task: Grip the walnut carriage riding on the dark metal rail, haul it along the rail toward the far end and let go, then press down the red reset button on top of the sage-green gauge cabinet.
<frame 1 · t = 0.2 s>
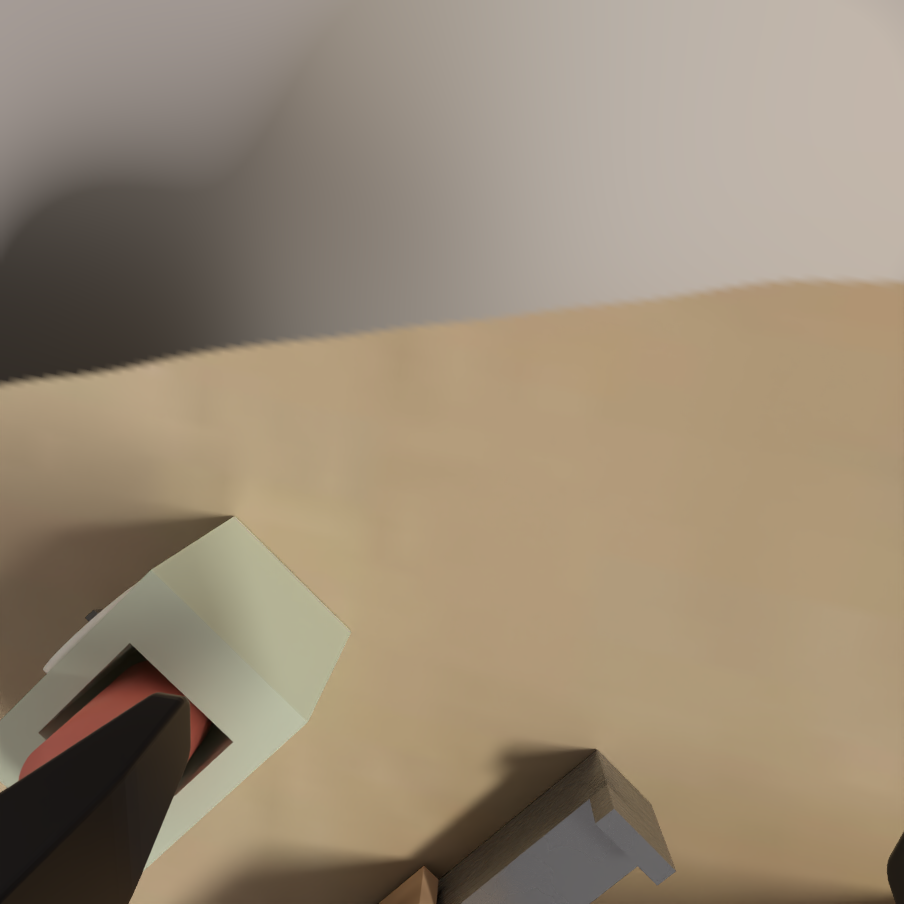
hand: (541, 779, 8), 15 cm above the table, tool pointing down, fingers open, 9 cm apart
rail: (478, 895, 25), on the table
gauge button: (125, 747, 18), point 7 cm above the table, slide at 0.0 cm
gauge cabinet: (220, 644, 24), on the table
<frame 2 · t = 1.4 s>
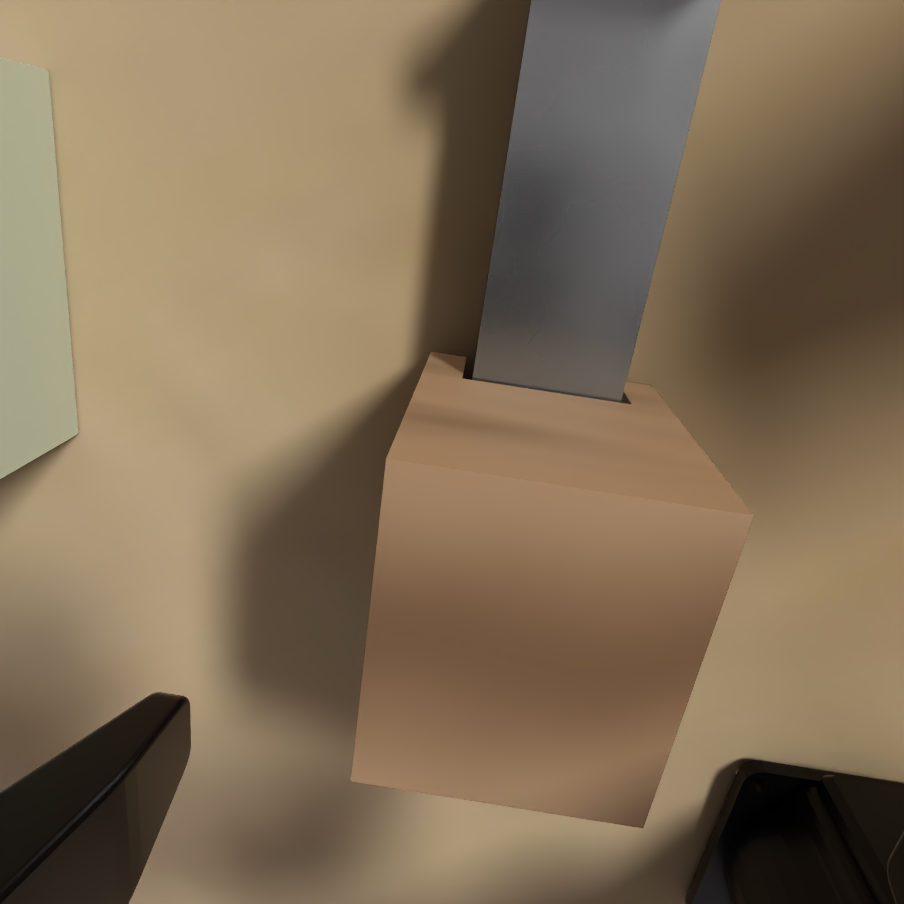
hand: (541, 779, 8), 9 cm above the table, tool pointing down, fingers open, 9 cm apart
rail: (544, 343, 15), on the table
carriage: (522, 556, 13), point 3 cm above the table, slide at 0.0 cm
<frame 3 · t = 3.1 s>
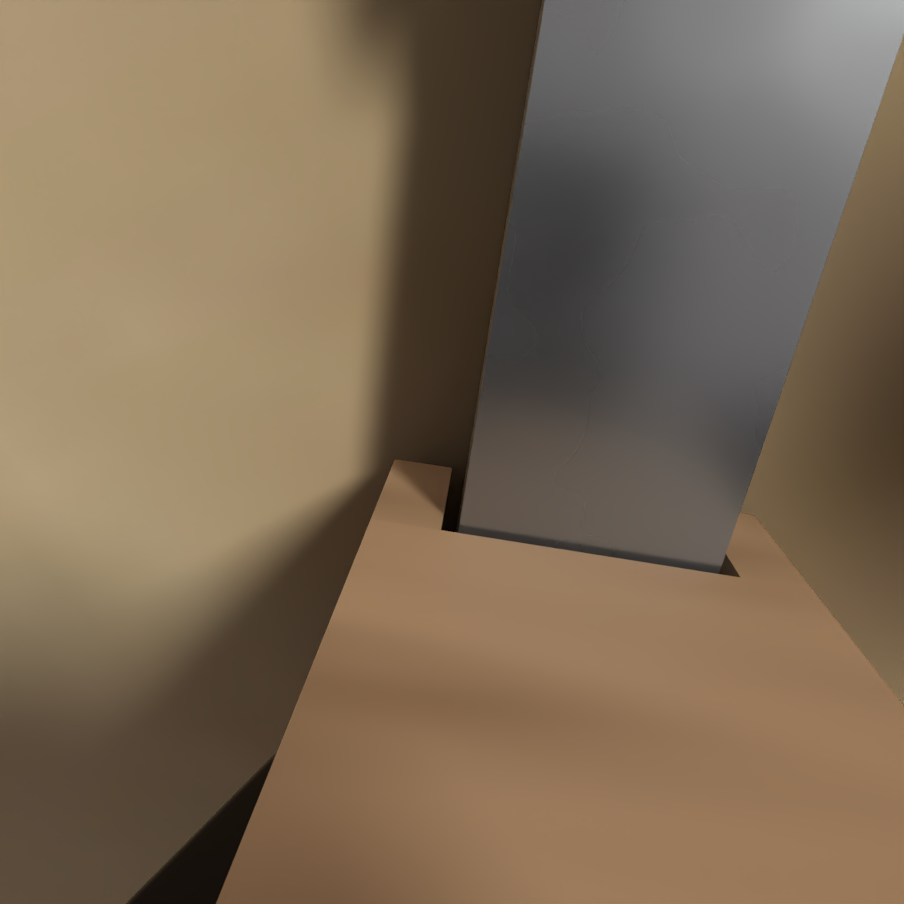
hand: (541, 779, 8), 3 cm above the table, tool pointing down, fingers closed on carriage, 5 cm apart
rail: (579, 445, 9), on the table
carriage: (546, 849, 7), point 3 cm above the table, slide at 0.0 cm, touching gripper
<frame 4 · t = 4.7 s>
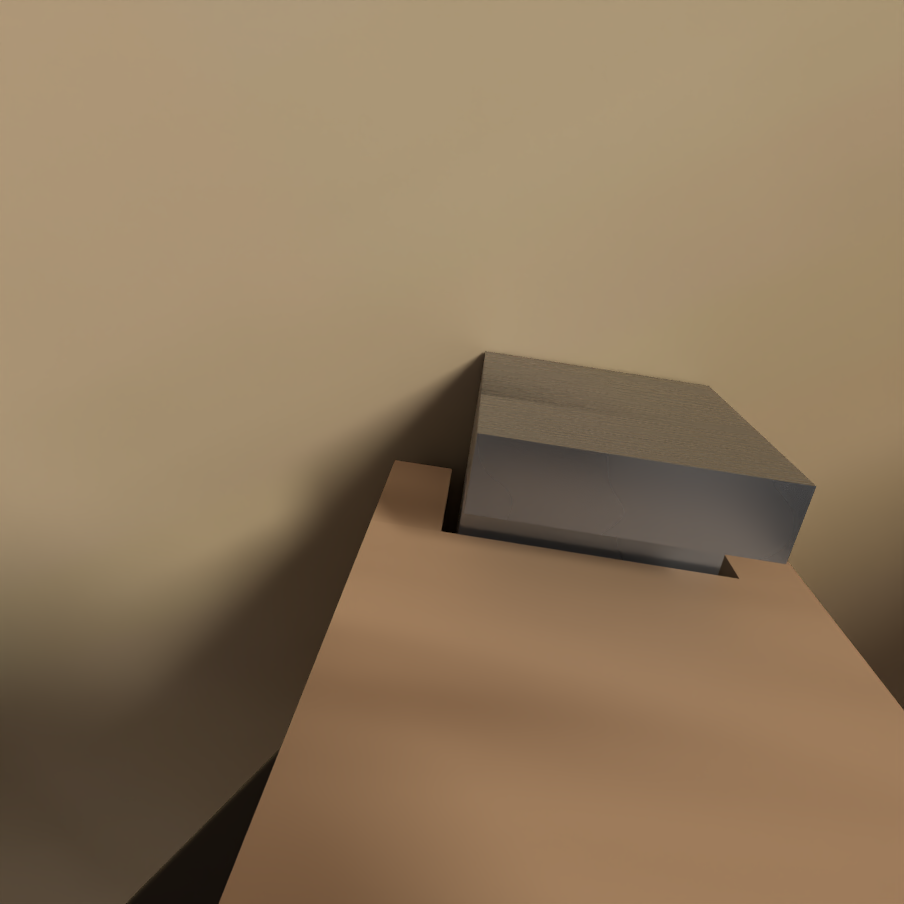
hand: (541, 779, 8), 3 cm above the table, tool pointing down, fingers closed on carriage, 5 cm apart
rail: (502, 779, 12), on the table
carriage: (545, 850, 7), point 3 cm above the table, slide at 6.4 cm, touching gripper
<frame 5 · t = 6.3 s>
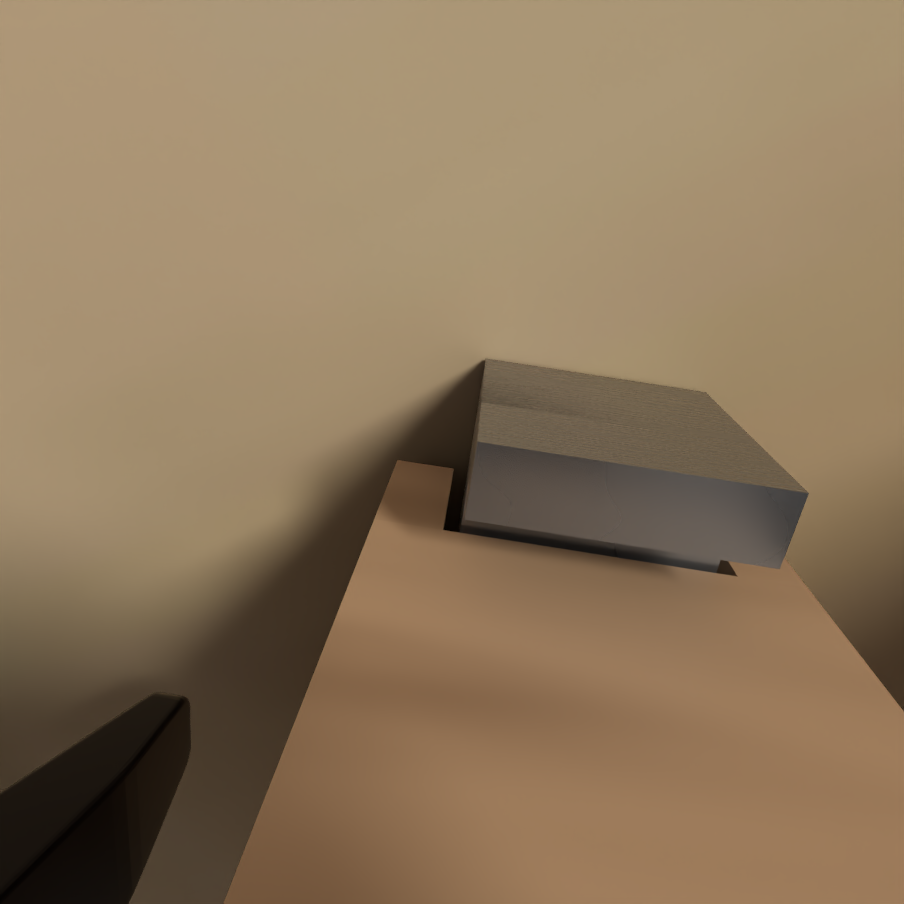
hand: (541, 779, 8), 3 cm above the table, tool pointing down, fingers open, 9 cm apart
rail: (502, 780, 12), on the table
carriage: (547, 844, 7), point 3 cm above the table, slide at 6.4 cm
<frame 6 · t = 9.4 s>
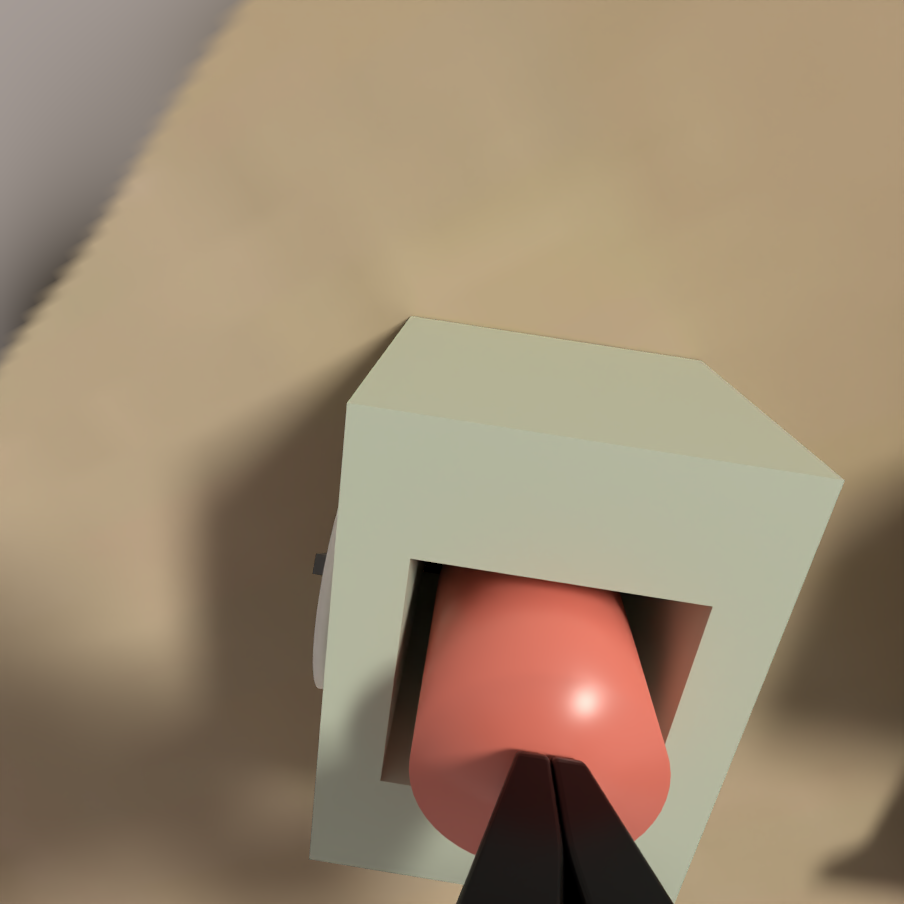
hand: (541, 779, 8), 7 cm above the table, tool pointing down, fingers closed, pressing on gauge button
gauge button: (530, 669, 10), point 5 cm above the table, slide at 1.2 cm, touching gripper
gauge cabinet: (520, 510, 15), on the table
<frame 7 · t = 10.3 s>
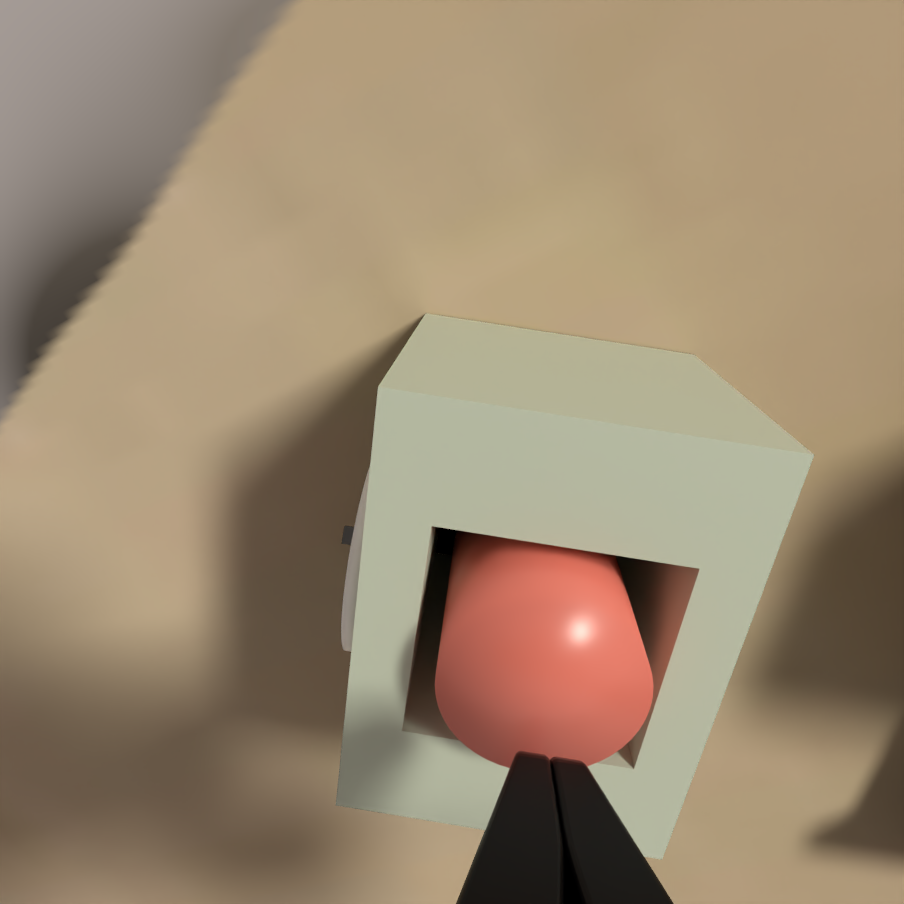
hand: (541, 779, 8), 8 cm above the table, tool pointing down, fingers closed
gauge button: (536, 611, 12), point 5 cm above the table, slide at 1.7 cm
gauge cabinet: (526, 495, 16), on the table
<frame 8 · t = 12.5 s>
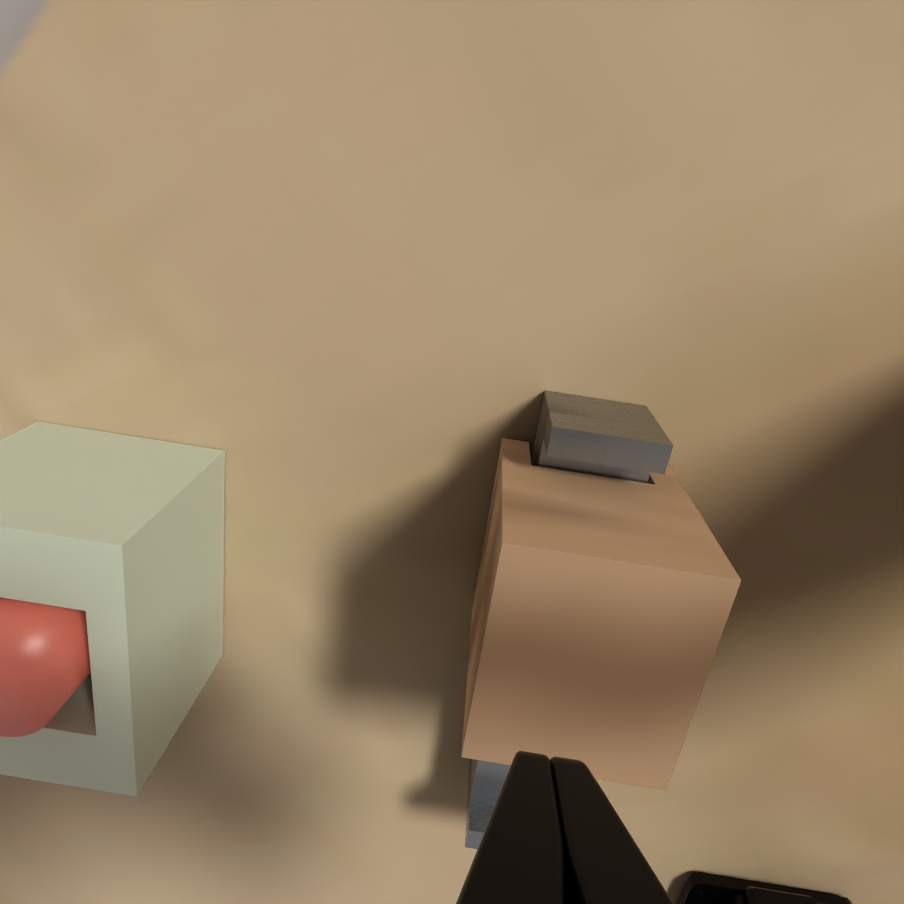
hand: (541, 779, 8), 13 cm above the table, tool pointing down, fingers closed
rail: (546, 610, 22), on the table
carriage: (575, 595, 18), point 3 cm above the table, slide at 6.4 cm
gauge button: (44, 634, 18), point 5 cm above the table, slide at 1.7 cm
gauge cabinet: (136, 545, 22), on the table
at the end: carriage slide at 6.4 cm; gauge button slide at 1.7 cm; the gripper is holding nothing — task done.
